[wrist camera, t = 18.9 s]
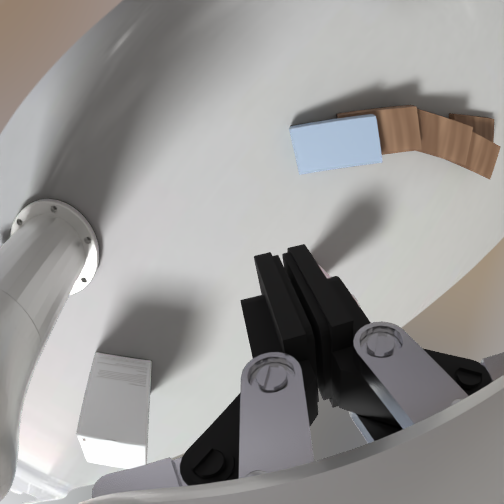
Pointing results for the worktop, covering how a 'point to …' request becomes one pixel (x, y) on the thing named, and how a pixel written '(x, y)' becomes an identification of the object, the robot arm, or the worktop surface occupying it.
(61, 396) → the worktop surface
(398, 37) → the worktop surface
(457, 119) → the tile
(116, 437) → the supplement box
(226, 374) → the worktop surface
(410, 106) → the tile
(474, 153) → the tile
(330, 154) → the tile
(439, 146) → the tile
